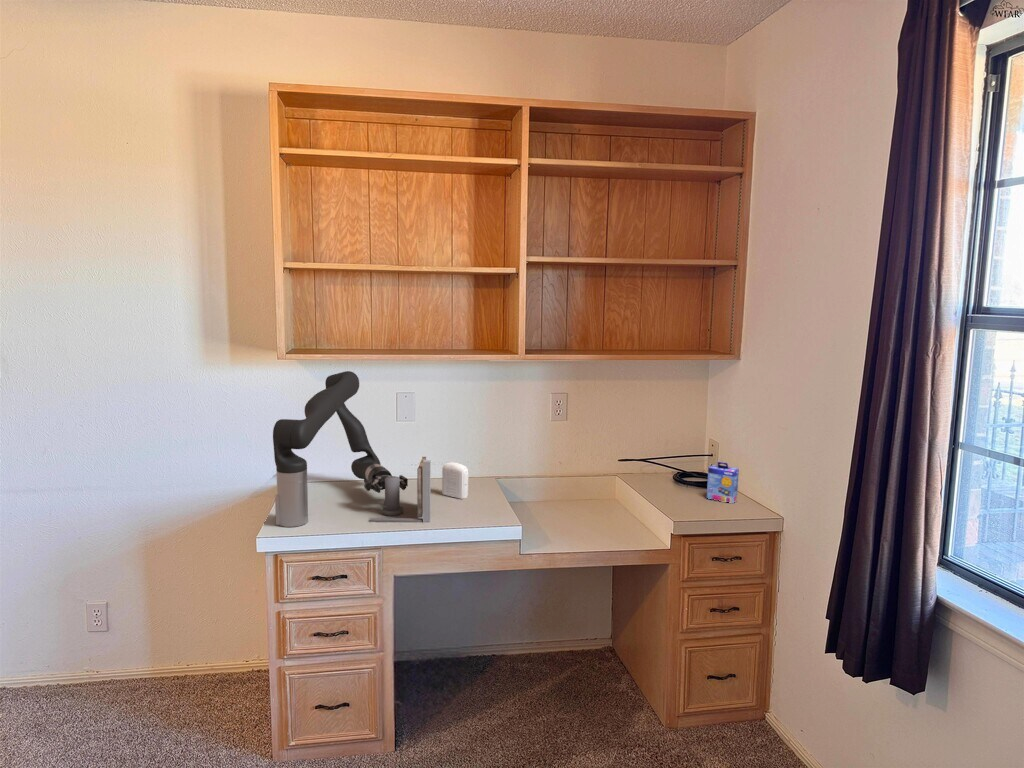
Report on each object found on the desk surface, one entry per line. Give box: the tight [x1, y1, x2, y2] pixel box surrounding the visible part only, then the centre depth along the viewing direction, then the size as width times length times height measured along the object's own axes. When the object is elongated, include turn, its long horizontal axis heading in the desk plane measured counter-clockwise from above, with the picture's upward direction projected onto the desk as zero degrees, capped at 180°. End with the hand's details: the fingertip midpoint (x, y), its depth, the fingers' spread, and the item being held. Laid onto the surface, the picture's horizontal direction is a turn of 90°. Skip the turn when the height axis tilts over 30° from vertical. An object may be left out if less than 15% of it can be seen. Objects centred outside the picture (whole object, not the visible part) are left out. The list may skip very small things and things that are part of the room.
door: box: [416, 456, 432, 518], centre depth 232 cm, size 17×3×16 cm, turn 2°
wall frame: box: [369, 459, 432, 523], centre depth 224 cm, size 19×2×20 cm, turn 92°
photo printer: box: [441, 461, 469, 500], centre depth 253 cm, size 10×4×12 cm, turn 56°
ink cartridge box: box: [706, 461, 740, 504], centre depth 254 cm, size 10×6×14 cm, turn 56°
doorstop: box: [381, 475, 404, 517], centre depth 233 cm, size 7×7×12 cm
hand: (391, 488), depth 233 cm, fingers open, 8 cm apart
